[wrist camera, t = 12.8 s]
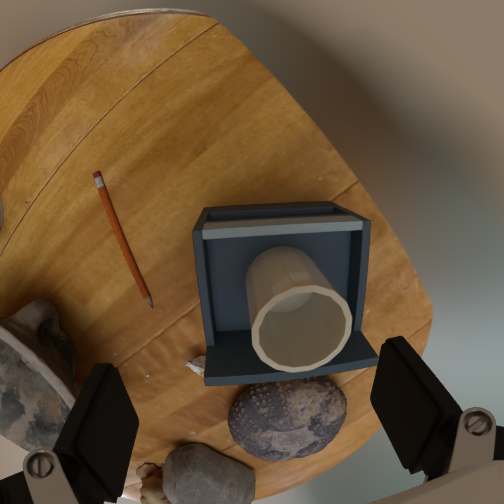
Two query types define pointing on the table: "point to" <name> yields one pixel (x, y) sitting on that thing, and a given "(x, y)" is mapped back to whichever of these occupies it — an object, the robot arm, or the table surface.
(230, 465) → the decorative stone
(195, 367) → the figurine
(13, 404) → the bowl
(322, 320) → the cream cup
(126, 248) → the pencil
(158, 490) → the figurine
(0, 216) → the cup
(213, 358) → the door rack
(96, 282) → the table surface
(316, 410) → the sea urchin shell
